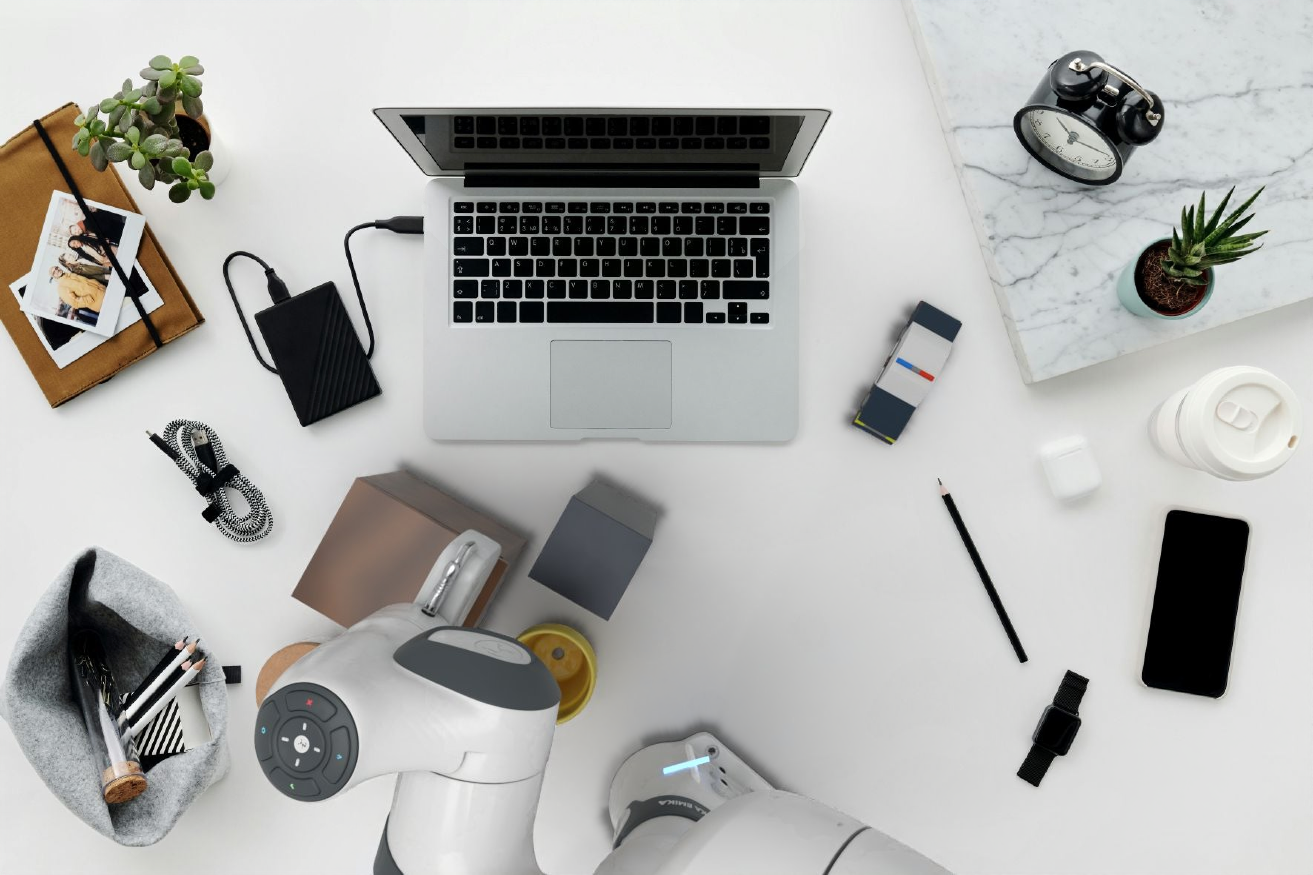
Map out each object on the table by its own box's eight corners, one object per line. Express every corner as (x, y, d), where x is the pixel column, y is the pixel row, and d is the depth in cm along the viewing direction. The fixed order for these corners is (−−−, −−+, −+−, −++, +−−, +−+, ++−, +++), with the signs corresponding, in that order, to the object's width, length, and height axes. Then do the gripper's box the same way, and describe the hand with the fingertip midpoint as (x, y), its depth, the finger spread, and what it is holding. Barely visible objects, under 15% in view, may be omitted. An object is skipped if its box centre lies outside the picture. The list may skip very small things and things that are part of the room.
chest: (527, 539, 92) (503, 557, 78) (471, 639, 92) (437, 675, 78) (404, 470, 92) (359, 476, 78) (348, 570, 92) (294, 594, 79)
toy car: (848, 424, 91) (859, 423, 86) (916, 303, 91) (930, 295, 86) (887, 445, 91) (900, 446, 86) (954, 324, 91) (971, 317, 86)
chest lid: (510, 562, 78) (508, 564, 77) (444, 681, 78) (441, 684, 77) (359, 476, 78) (356, 477, 78) (294, 594, 79) (290, 596, 78)
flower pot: (528, 597, 92) (511, 617, 82) (612, 621, 92) (606, 644, 82) (504, 682, 92) (485, 712, 82) (589, 706, 92) (579, 739, 82)
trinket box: (369, 724, 92) (336, 758, 83) (281, 706, 92) (237, 737, 83) (387, 635, 92) (356, 659, 83) (299, 617, 92) (257, 638, 83)
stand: (656, 512, 91) (652, 541, 67) (623, 571, 91) (607, 621, 67) (597, 478, 91) (572, 495, 67) (563, 538, 92) (527, 576, 68)
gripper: (427, 527, 61) (474, 509, 75) (303, 754, 61) (372, 695, 75) (498, 566, 61) (531, 541, 75) (373, 794, 61) (429, 727, 75)
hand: (451, 620), depth 75 cm, fingers closed
